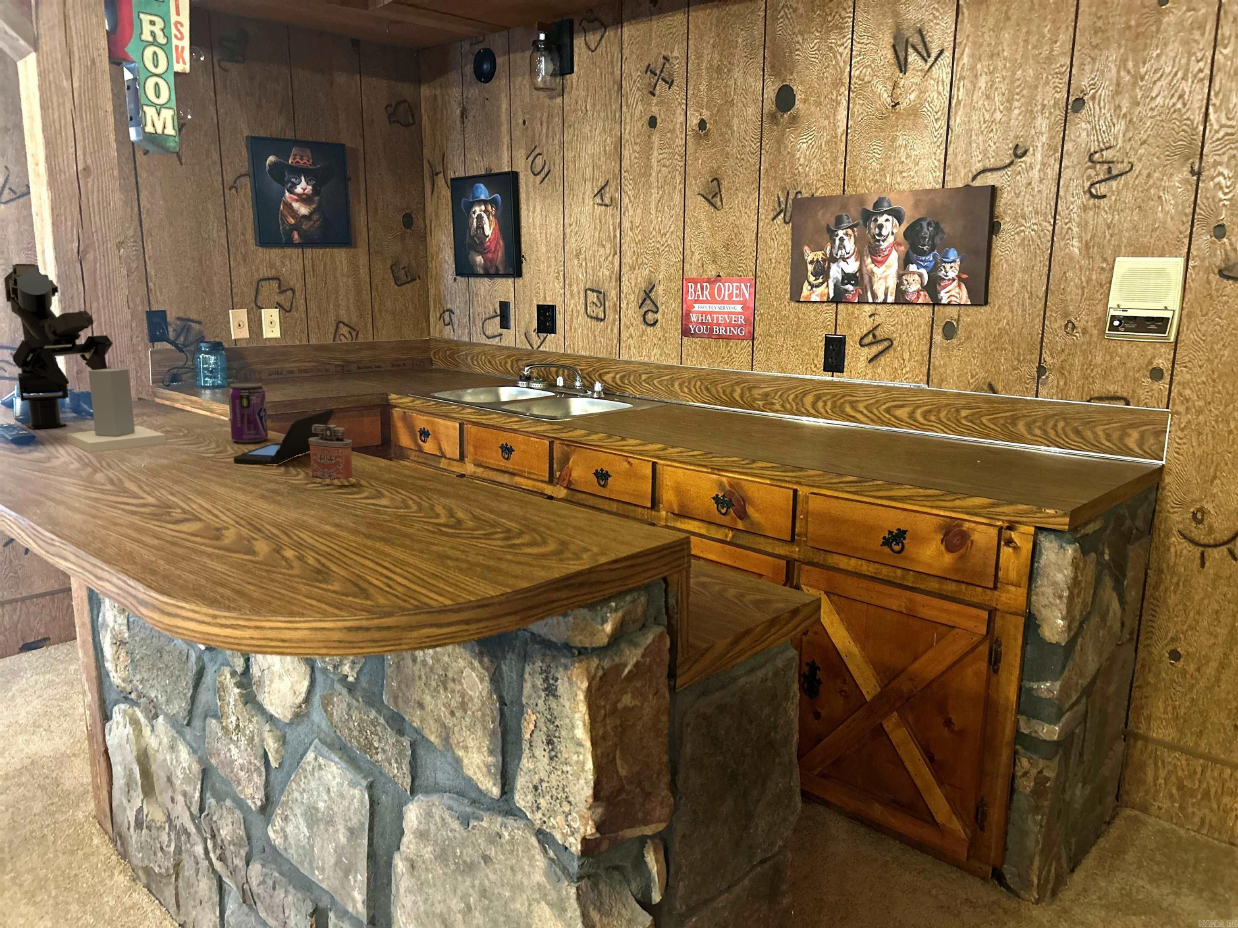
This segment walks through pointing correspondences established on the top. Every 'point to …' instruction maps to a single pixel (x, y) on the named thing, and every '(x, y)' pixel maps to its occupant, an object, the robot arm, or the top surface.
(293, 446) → the game console
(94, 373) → the tall block
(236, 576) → the top surface
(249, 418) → the beverage can
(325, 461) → the lighter
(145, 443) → the slab
